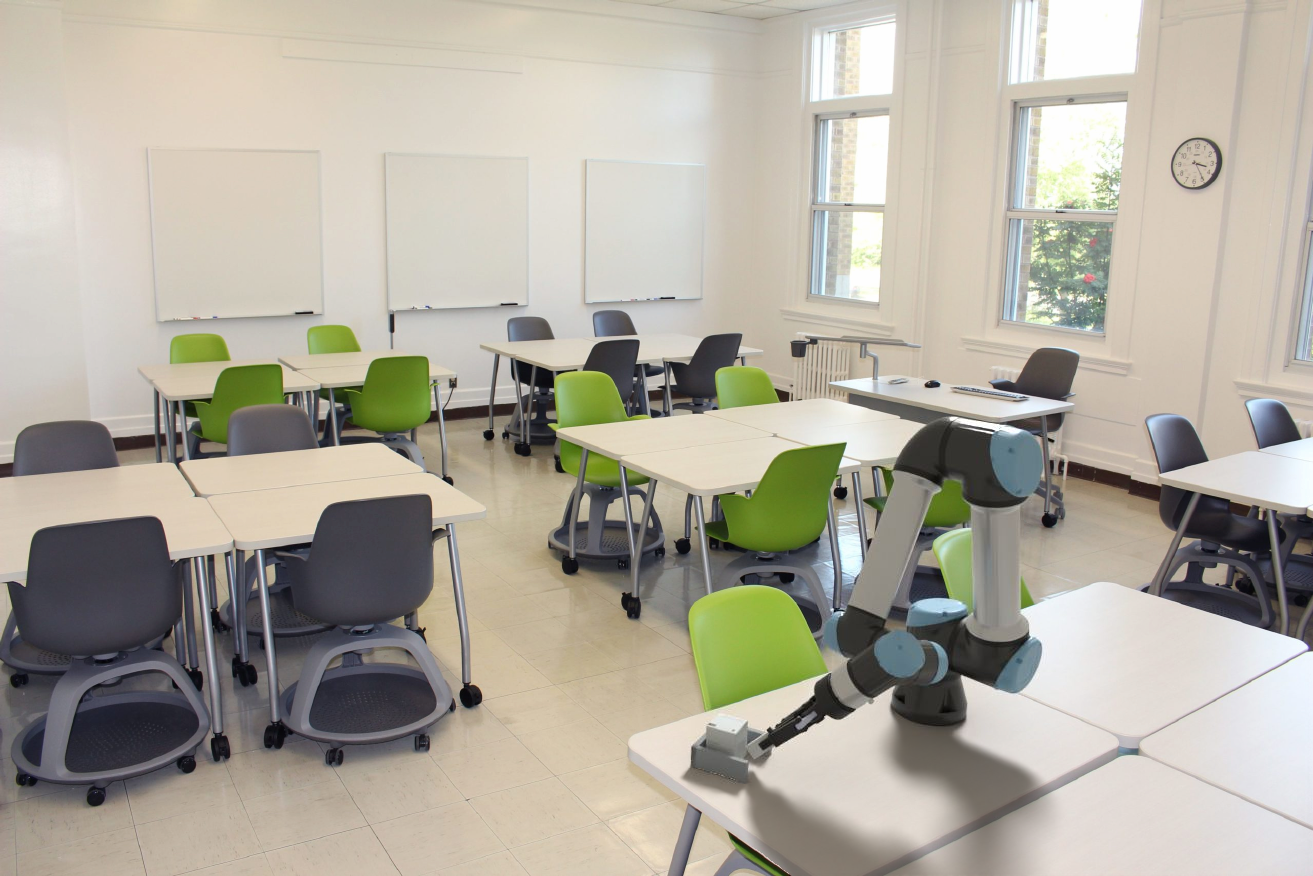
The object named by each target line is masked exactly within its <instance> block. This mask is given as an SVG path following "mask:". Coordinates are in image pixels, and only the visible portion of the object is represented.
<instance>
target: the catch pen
mask: <svg viewBox="0 0 1313 876" xmlns="http://www.w3.org/2000/svg"><path fill="white" fill-rule="evenodd" d="M766 732H767V731H762V730H759V729H755V728H753V727H749V726H748V733H747V745H748V744H749V743H751V742H752V741H754V740H755V739H757V738H758V737H760V736H761V735H763V734H764V733H766ZM690 748H691V749H690V767H691V766H693V767H692V768H695V767H696V768H695V769H698V768H700V769H699V770H701V769H704V770H706V771H705V772H707V771H709V772H708V773H710V772H712V773H711V774H713V773H716V774H715V775H717V774H720V775H723V776H725V777H724V778H726V777H728V778H727V779H729V778H732V779H735V780H734V781H736V780H738V781H737V782H739V781H741V782H740V783H742V782H743V784H745V783H748V781H749V763H750V762H749V760H747V759H745V758H744V759H741V758H738V757H735V756H731V755H728V754H725V753H721V752H718V751H715V750H712V749H708V748H706V732H704V733H703V734H702V735H701V736H700V738H698V739H697V740H696V741H695V742H694V743H693V744H692V745H691V747H690ZM772 750H773V748H771V749H770V750H768V751H767V752H765V753H764V754H763V755H765V754H767V755H766V756H768V755H770V754H772ZM770 756H771V755H770ZM704 770H703V771H704ZM720 775H719V776H720ZM723 776H722V777H723ZM732 779H731V780H732Z"/></svg>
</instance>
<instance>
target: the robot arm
mask: <svg viewBox="0 0 1313 876" xmlns="http://www.w3.org/2000/svg"><path fill="white" fill-rule="evenodd" d="M1043 468H1044V458H1043V451H1042V447H1041V445H1040V442H1039V441H1038V439H1037V438H1036V437H1035V436H1034V435H1033V434H1032V432H1029V431H1028V430H1025V429H1022V428H1021V429H1020V428H1017V427H1015V426H1013V425H1009V424H997V423H991V422H986V421H980V420H974V419H969V418H965V417H962V416H954V415H953V416H943V417H941V418H937V419H935V420H932V421H930V422H928V423H927V424H926V425H924V426H922V427H921V428H920V429H919V430H918V431H917V432H915V434H913V435H912V437H911V438H910V439H909V440H908V441H907V443H906V444H905V445H904V446H903V448H902V449H901V451H900V452H899V455H898V456H897V458H896V460H895V463H894V465H893V468H892V471H891V476H892V478H893V484H892V487H891V489H890V491H889V494H888V497H887V499H886V501H885V502H886V503H885V504H884V508H883V510H882V513H881V515H880V518H879V521H878V524H877V527H876V529H875V532H874V535H873V537H872V539H871V543H870V544H869V547H868V550H867V552H866V555H865V558H864V561H863V563H862V567H861V570H860V572H859V575H858V576H857V580H856V582H855V585H854V588H853V590H852V592H851V596H850V599H849V600H848V604H847V606H846V607H845V610H844V611H841V610H840V611H835V612H833V613H832V614H831V615H830V617H829V619H827V620H826V622H825V624H824V626H823V630H822V631H823V633H822V638H823V643H824V645H825V646H826V647H827V648H828V649H829V650H830V651H832V652H834V653H837V654H839V655H840V656H842V657H843V658H845V659H847V660H846V661H844V662H842V663H841V664H840V665H838V666H837V667H836V668H834V669H833V670H832V671H831V672H829V673H827V674H826V675H825V676H822V677H821V678H820V679H818V680H817V681H816V682H815V684H814V686H813V695H812V696H811V697H810V698H809V699H808V700H806V701H805V702H804V703H802V704H801V705H800V706H799V707H798V708H797V709H794V710H793V712H790V714H788V715H786V716H785V717H783V718H782V719H781V720H780V722H779V723H776V724H775V726H774V727H771V726H769V727H767V728H766V731H765V732H766V733H764V734H763V735H761V736H760V737H758V738H757V739H755V740H754V741H752V742H751V743H749V744H748V745H747V746H746V747H745V748H746V749H747V753H749V754H750V756H751V757H752V758H753V760H756V759H758V758H760V757H761V756H763V755H765V754H764V753H765V752H767V751H768V750H770V749H771V748H772V749H773V748H779V747H780V746H782V745H783V744H785V743H786V742H788V741H790V740H792V739H794V738H795V737H797V736H798V735H801V734H803V733H806V732H808V730H809V728H811V727H812V726H814V725H817V724H820V723H821V722H823V721H824V720H825V719H826V716H827V717H829V718H831V719H833V720H837V721H840V720H844V718H846V717H848V716H850V715H852V713H854V712H856V711H857V709H859V708H860V709H861V707H863V706H865V705H866V704H867V702H868V704H870V705H873V704H874V702H875V699H876V698H878V697H879V696H880V695H881V694H883V693H885V692H886V691H888V690H890V689H891V688H893V689H892V692H891V706H892V708H893V709H894V711H895V712H896V713H898V714H899V715H900V716H902V717H904V718H906V719H908V720H910V721H914V722H915V723H920V724H924V725H929V726H931V725H932V726H948V725H954V724H958V723H960V722H962V721H963V720H964V719H965V718H966V716H967V710H968V701H967V696H966V692H965V688H964V684H963V679H962V677H965V678H968V679H970V680H973V681H975V682H978V683H980V684H982V685H985V686H988V687H991V688H993V689H994V690H995V691H1002V692H1004V693H1009V694H1012V695H1013V694H1018V693H1020V692H1022V691H1023V690H1024V689H1026V688H1027V686H1028V685H1029V684H1030V683H1031V681H1032V680H1033V679H1034V677H1035V674H1036V672H1037V670H1038V668H1039V665H1040V662H1041V659H1042V656H1043V644H1042V642H1041V640H1040V639H1038V638H1036V636H1030V623H1029V621H1028V619H1027V617H1026V616H1025V615H1024V614H1022V613H1021V611H1022V609H1021V608H1022V607H1021V606H1022V597H1021V596H1022V595H1021V594H1022V593H1021V591H1022V589H1021V588H1022V586H1021V581H1022V580H1021V572H1022V571H1021V506H1022V505H1024V504H1026V502H1027V501H1028V500H1029V497H1030V496H1031V495H1032V494H1034V493H1035V491H1036V490H1037V489H1038V487H1039V485H1040V482H1041V475H1042V474H1043V470H1044V469H1043ZM947 480H951V481H955V482H958V483H960V486H961V497H962V500H963V501H964V502H965V503H966V504H968V505H969V506H970V523H971V524H970V526H971V527H970V531H971V534H970V535H971V537H970V538H971V570H972V571H971V573H972V604H973V605H972V609H973V610H972V612H971V613H970V614H969V612H970V610H969V607H968V605H967V604H966V603H965V602H963V601H961V600H957V599H952V598H941V597H933V598H925V599H921V600H917V601H916V602H914V603H913V604H911V605H910V606H909V609H908V611H907V612H908V613H907V618H906V621H905V626H906V628H905V629H903V628H896V629H894V630H891V629H890V628H887V627H885V626H886V622H887V619H888V616H889V614H890V611H891V609H892V605H893V603H894V601H895V598H896V596H897V593H898V590H899V587H900V585H901V583H902V579H903V578H904V574H905V571H906V569H907V567H908V563H909V561H910V558H911V556H912V553H913V550H914V548H915V545H916V542H917V539H918V537H919V534H920V532H921V529H922V526H923V524H924V521H925V518H926V515H927V513H928V510H929V507H930V505H931V502H932V499H933V497H934V496H935V494H938V493H940V492H942V489H943V486H944V485H945V482H946V481H947Z"/></svg>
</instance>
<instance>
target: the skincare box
mask: <svg viewBox="0 0 1313 876" xmlns="http://www.w3.org/2000/svg"><path fill="white" fill-rule="evenodd" d="M748 724H749V721H748V719H744V718H740V717H736V716H732V715H728V714H725V713H722V712H719V713H718V714H716V715H715V716H714V717H713V719H711V721H709V723H708V724H707V725H706V726H705V727H706V730H705V733H706V748H708V749H712V750H715V751H718V752H721V753H725V754H728V755H731V756H735V757H738V758H741V759H744V760H745V758H746V757H747V755H748V750H747V749H746V748H745V747H746V746H747V733H748V727H749V726H748Z"/></svg>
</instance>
